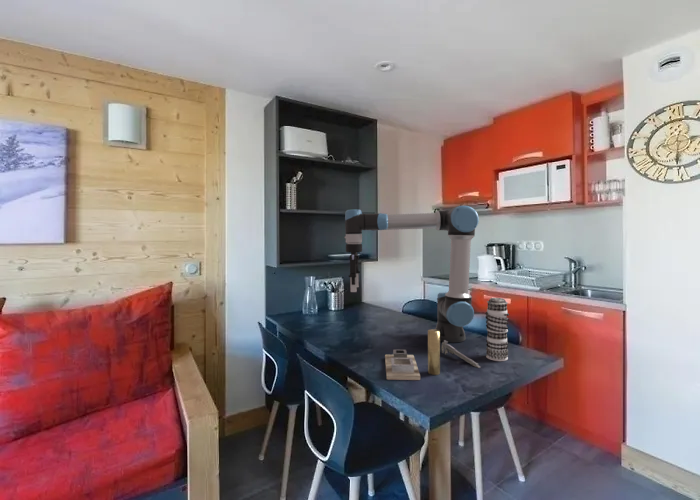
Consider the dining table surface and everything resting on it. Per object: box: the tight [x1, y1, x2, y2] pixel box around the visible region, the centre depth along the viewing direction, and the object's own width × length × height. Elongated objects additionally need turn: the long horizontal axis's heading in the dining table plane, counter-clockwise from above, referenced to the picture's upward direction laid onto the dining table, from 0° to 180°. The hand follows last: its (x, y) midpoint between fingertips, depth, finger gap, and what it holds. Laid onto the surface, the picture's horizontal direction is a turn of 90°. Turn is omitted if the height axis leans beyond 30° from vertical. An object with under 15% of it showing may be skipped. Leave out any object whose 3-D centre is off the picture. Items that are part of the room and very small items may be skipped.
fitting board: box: [384, 349, 421, 381], centre depth 137 cm, size 22×12×4 cm, turn 176°
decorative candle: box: [485, 297, 510, 362], centre depth 147 cm, size 9×9×25 cm
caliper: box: [441, 340, 482, 369], centre depth 145 cm, size 20×1×6 cm, turn 29°
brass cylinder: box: [427, 328, 441, 376], centre depth 132 cm, size 4×4×16 cm
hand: (354, 289), depth 162 cm, fingers open, 13 cm apart
